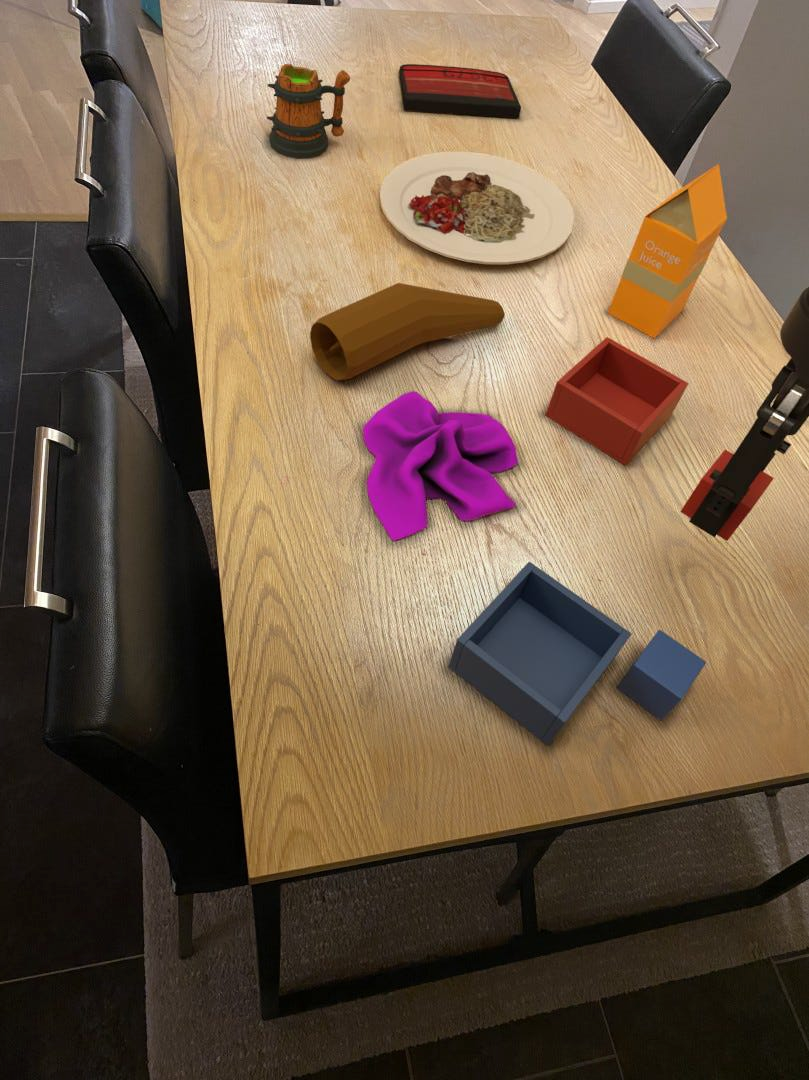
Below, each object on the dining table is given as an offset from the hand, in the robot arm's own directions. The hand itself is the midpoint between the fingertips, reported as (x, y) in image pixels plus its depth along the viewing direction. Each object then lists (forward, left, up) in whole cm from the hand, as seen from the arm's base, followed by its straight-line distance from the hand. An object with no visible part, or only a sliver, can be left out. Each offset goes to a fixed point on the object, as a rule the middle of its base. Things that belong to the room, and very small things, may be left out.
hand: (716, 509), depth 73 cm
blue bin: (+5, +20, -11) cm, 23 cm away
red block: (0, 0, 0) cm, 0 cm away
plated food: (+55, -38, -11) cm, 68 cm away
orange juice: (+24, -37, -11) cm, 46 cm away
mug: (+86, -33, -11) cm, 93 cm away
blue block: (-5, +14, -11) cm, 18 cm away
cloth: (+27, +7, -11) cm, 30 cm away
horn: (+43, -7, -11) cm, 45 cm away
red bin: (+17, -15, -11) cm, 25 cm away
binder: (+81, -67, -11) cm, 106 cm away
